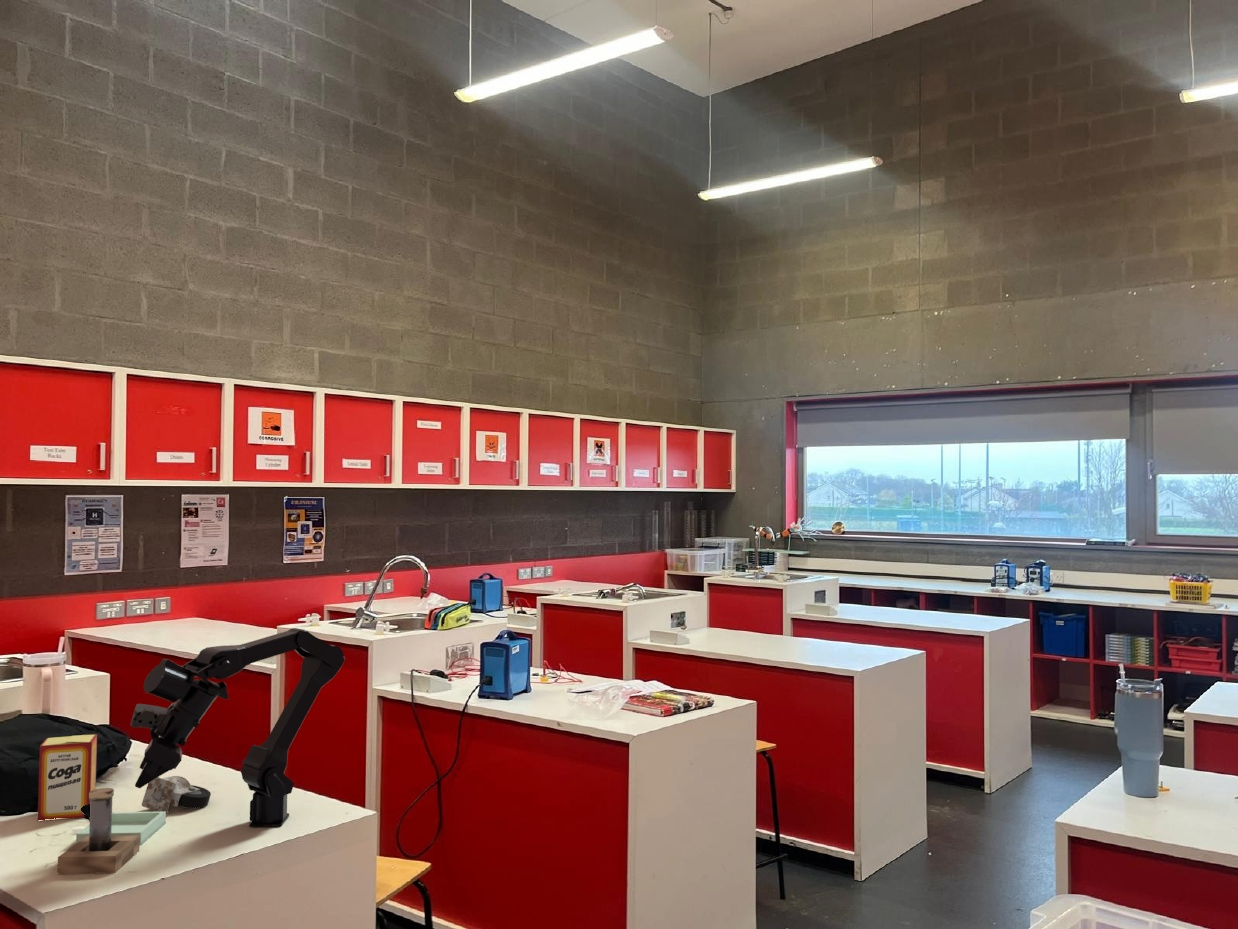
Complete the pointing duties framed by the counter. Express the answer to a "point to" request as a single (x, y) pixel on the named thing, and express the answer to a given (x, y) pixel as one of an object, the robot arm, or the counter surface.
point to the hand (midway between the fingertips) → (139, 777)
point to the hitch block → (98, 856)
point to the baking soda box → (66, 776)
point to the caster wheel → (174, 794)
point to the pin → (100, 819)
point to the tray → (132, 825)
